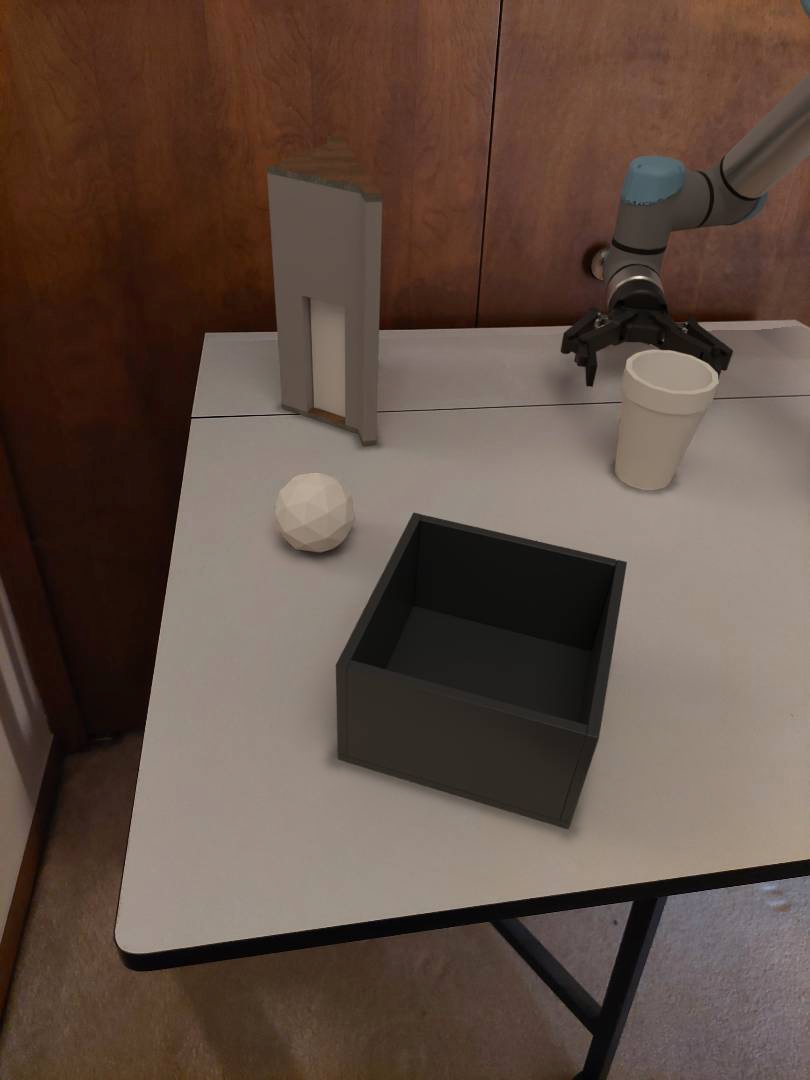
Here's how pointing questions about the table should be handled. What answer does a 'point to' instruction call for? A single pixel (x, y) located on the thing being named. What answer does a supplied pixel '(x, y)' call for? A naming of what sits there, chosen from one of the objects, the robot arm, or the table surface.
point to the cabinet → (327, 285)
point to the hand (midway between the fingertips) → (651, 382)
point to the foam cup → (660, 414)
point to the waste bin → (482, 667)
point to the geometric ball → (314, 512)
